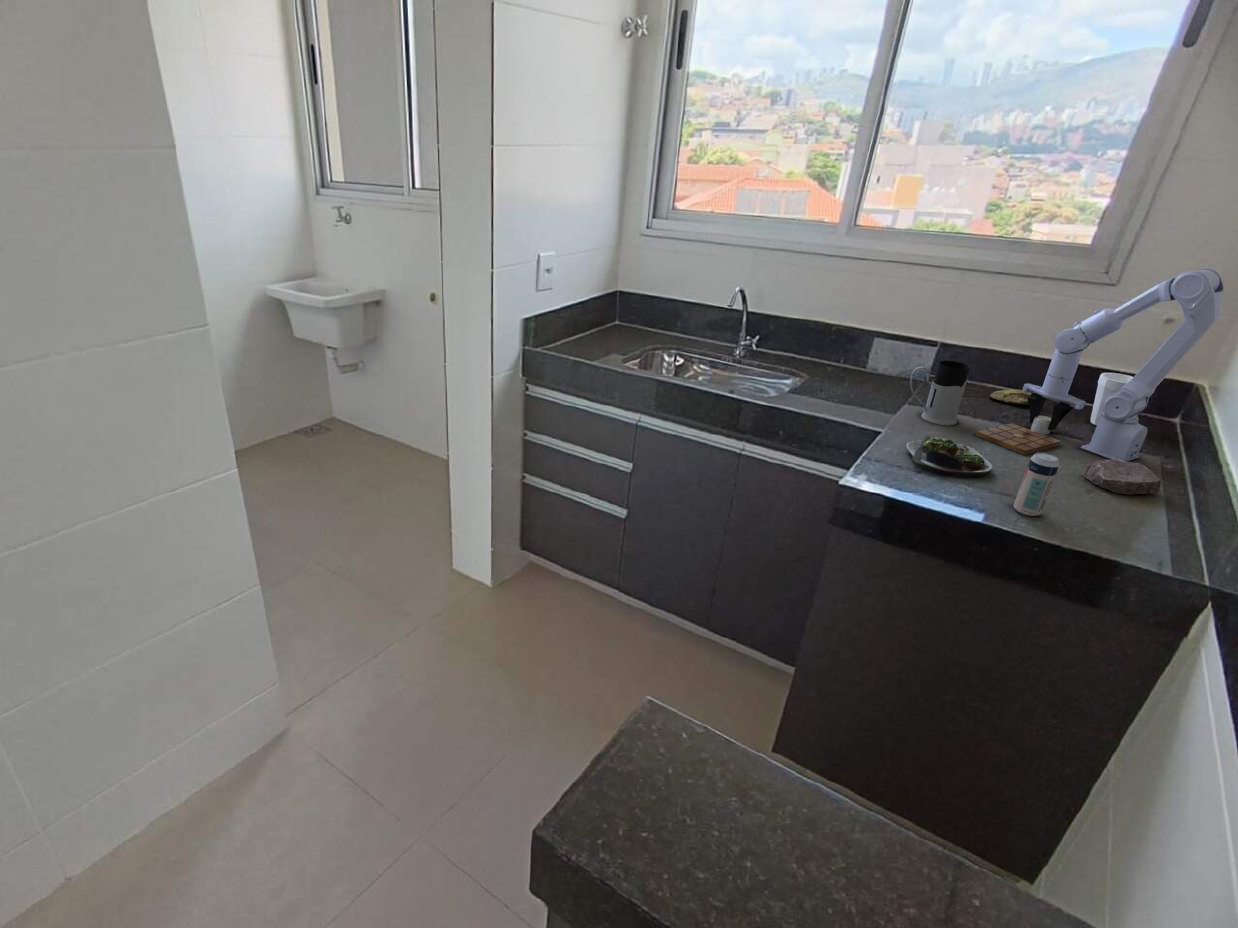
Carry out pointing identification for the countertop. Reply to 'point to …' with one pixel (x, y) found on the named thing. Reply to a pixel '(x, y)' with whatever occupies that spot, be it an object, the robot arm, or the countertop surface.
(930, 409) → the glass holder
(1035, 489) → the supplement jar
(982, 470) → the salad plate
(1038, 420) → the white cylinder
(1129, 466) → the stone
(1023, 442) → the board
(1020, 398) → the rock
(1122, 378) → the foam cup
